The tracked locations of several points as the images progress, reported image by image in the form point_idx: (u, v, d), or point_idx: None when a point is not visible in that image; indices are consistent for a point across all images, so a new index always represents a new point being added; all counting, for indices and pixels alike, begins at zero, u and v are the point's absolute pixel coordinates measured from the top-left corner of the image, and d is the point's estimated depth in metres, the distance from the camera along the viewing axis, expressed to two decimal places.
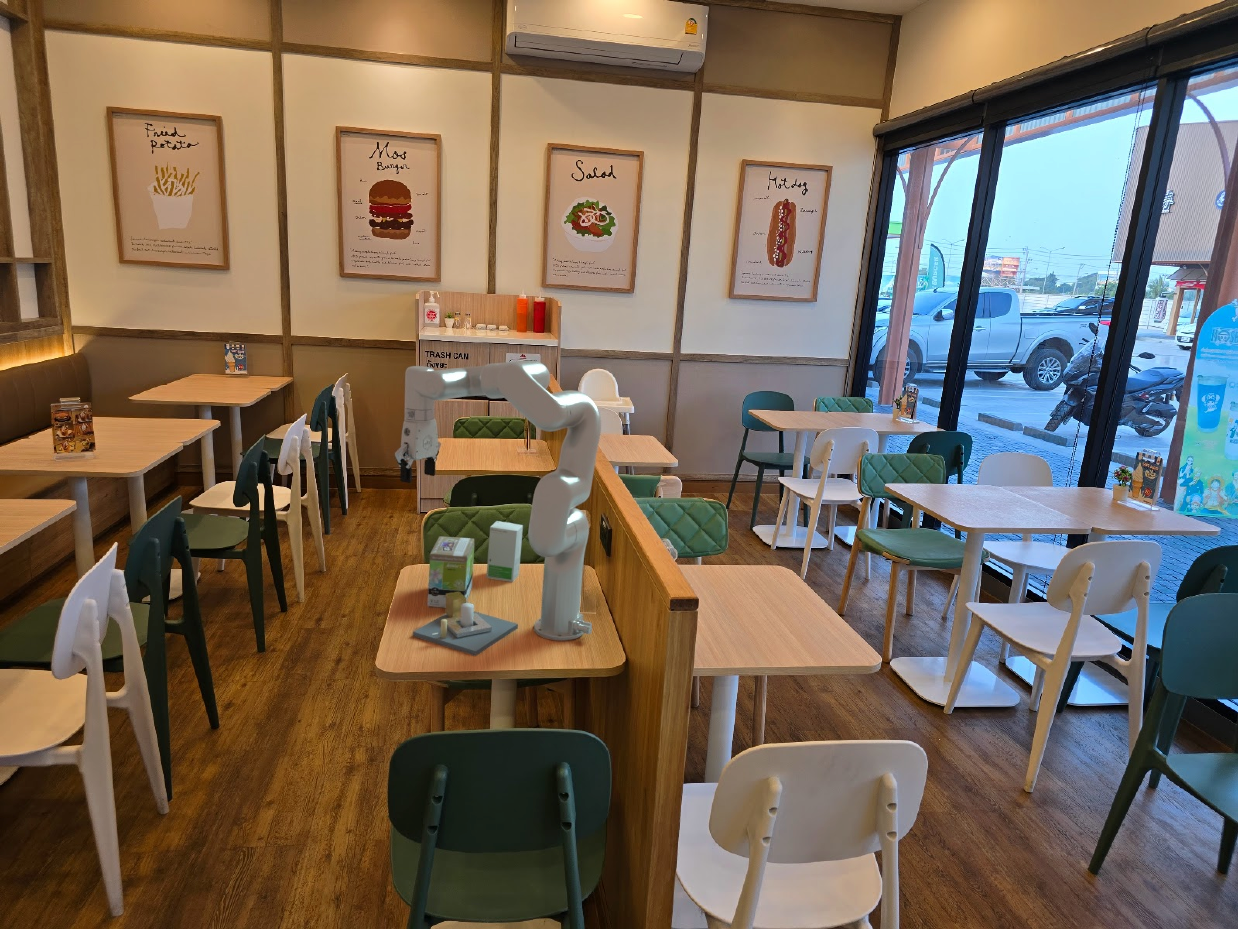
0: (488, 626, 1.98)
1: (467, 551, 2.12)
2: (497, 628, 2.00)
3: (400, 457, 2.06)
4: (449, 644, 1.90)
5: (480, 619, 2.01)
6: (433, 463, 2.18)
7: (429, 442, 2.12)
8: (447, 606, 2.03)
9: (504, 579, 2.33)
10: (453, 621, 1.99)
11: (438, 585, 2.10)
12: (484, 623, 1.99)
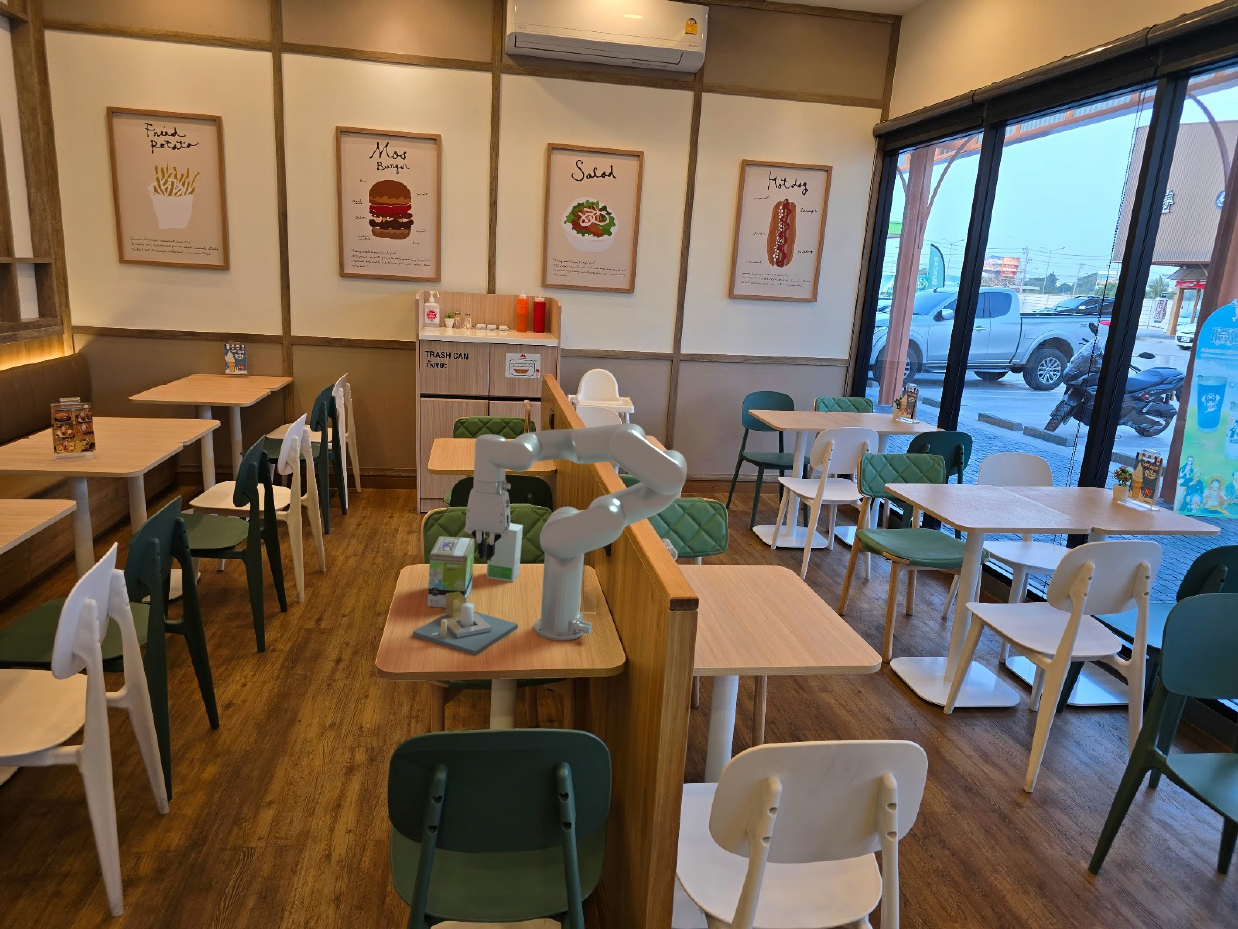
0: (488, 626, 1.98)
1: (467, 551, 2.12)
2: (497, 628, 2.00)
3: None
4: (449, 644, 1.90)
5: (480, 619, 2.01)
6: None
7: None
8: (447, 606, 2.03)
9: (504, 579, 2.33)
10: (453, 621, 1.99)
11: (438, 585, 2.10)
12: (484, 623, 1.99)
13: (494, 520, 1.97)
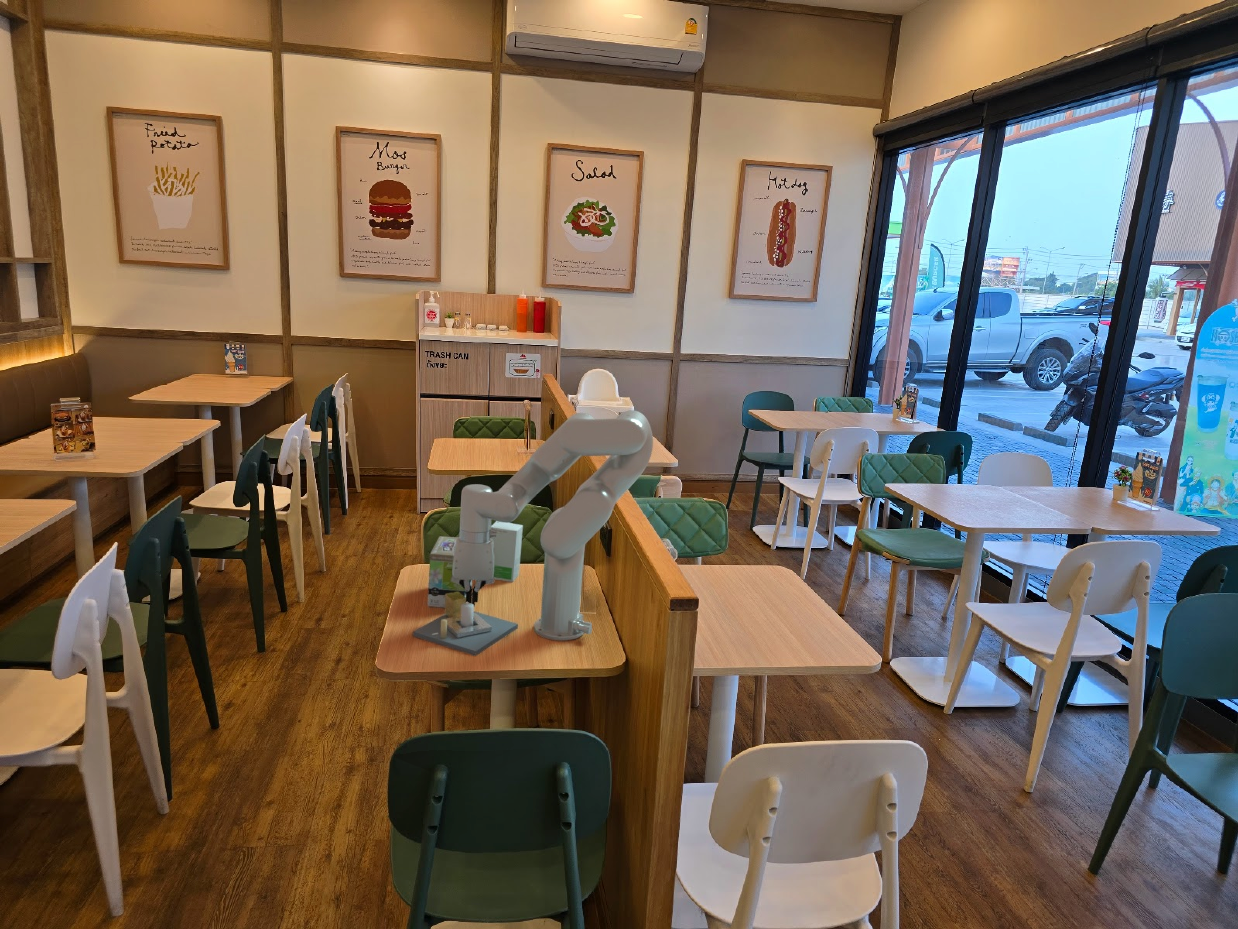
0: (488, 626, 1.98)
1: None
2: (497, 628, 2.00)
3: None
4: (449, 644, 1.90)
5: (480, 619, 2.01)
6: None
7: None
8: (447, 606, 2.03)
9: (504, 579, 2.33)
10: (453, 621, 1.99)
11: (438, 585, 2.10)
12: (484, 623, 1.99)
13: (483, 568, 2.00)
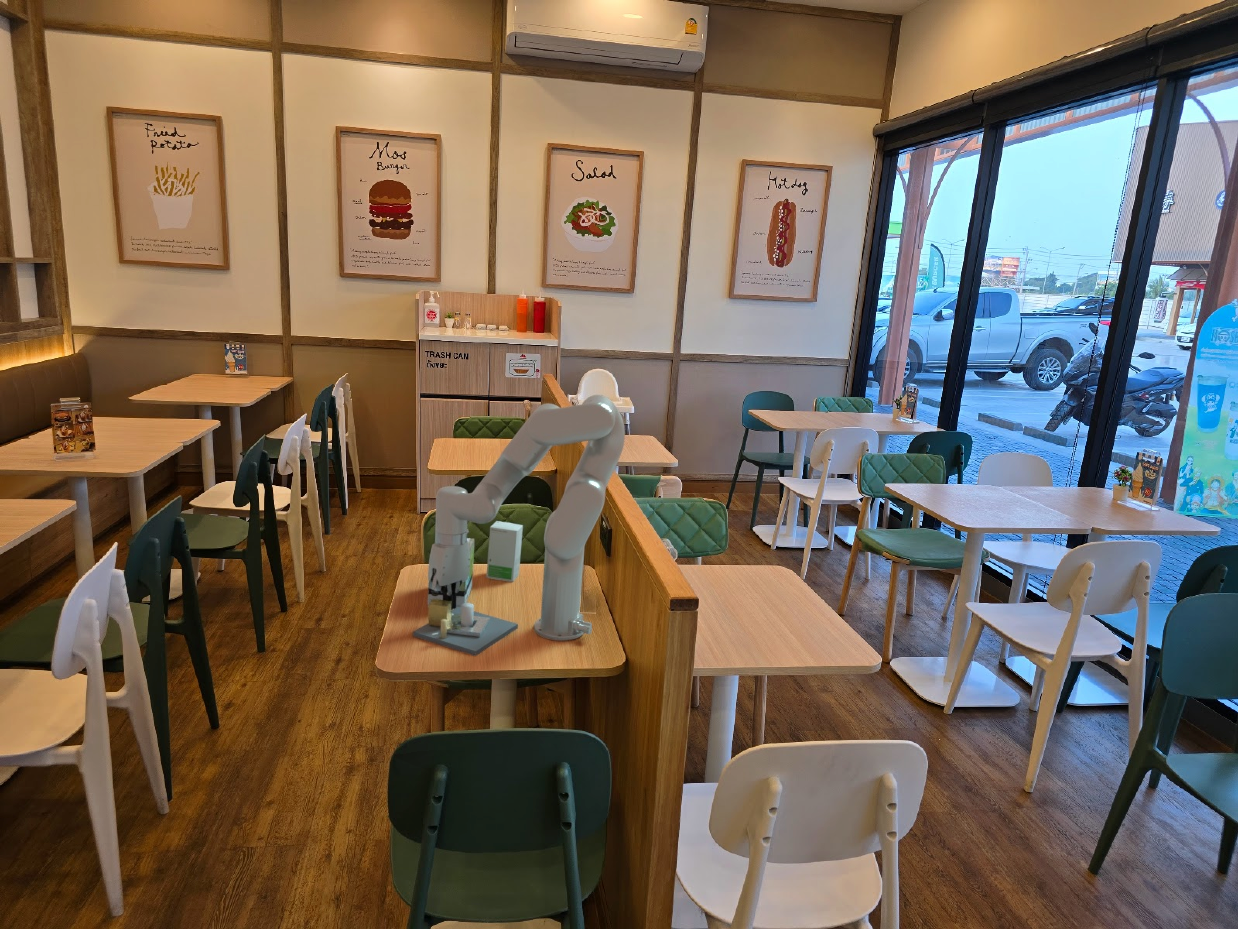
0: (486, 618, 2.02)
1: None
2: (497, 628, 2.00)
3: None
4: (449, 644, 1.90)
5: None
6: None
7: None
8: (434, 616, 1.97)
9: (504, 579, 2.33)
10: (455, 626, 1.96)
11: None
12: (478, 617, 2.02)
13: (464, 567, 2.01)
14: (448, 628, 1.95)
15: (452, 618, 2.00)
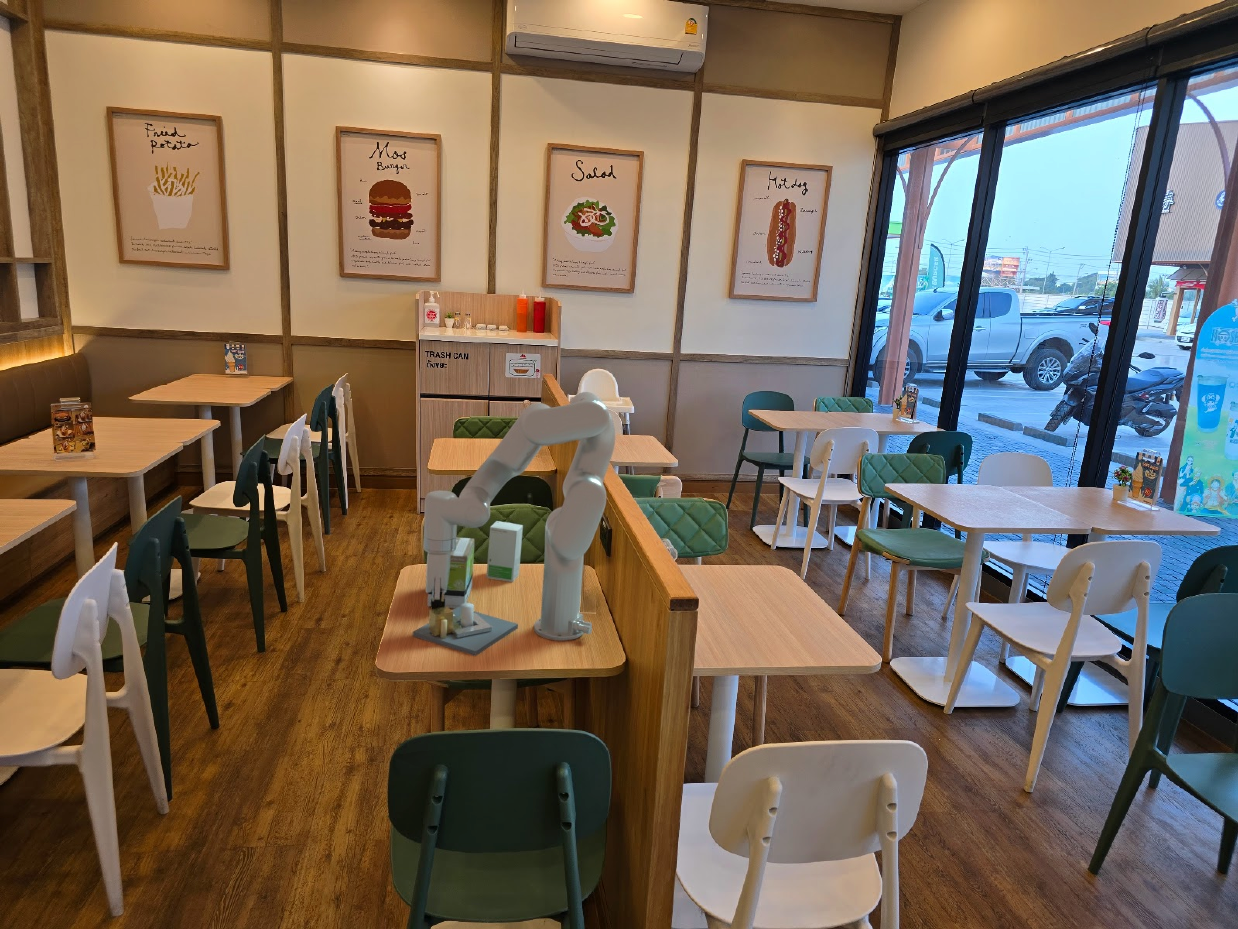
0: (474, 614, 2.04)
1: (467, 551, 2.12)
2: (497, 628, 2.00)
3: None
4: (449, 644, 1.90)
5: (458, 617, 2.01)
6: None
7: None
8: (440, 625, 1.92)
9: (504, 579, 2.33)
10: (463, 628, 1.95)
11: None
12: None
13: None
14: (461, 632, 1.93)
15: None
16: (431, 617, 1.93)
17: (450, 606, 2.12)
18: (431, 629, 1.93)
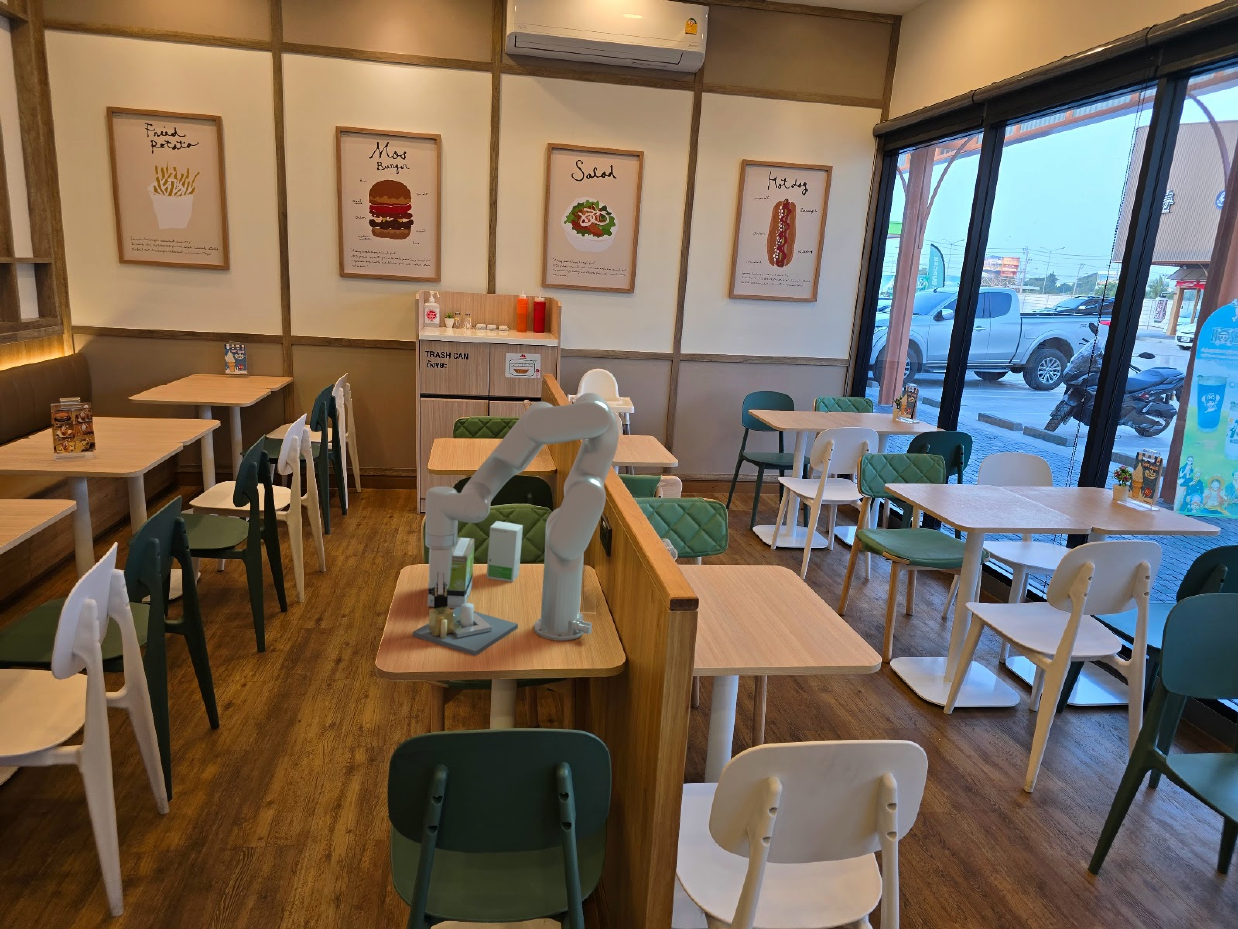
0: (474, 614, 2.04)
1: (467, 551, 2.12)
2: (497, 628, 2.00)
3: None
4: (449, 644, 1.90)
5: (458, 617, 2.01)
6: None
7: None
8: (440, 625, 1.92)
9: (504, 579, 2.33)
10: (463, 628, 1.95)
11: None
12: None
13: None
14: (461, 632, 1.93)
15: None
16: (431, 617, 1.93)
17: (450, 606, 2.12)
18: (431, 629, 1.93)
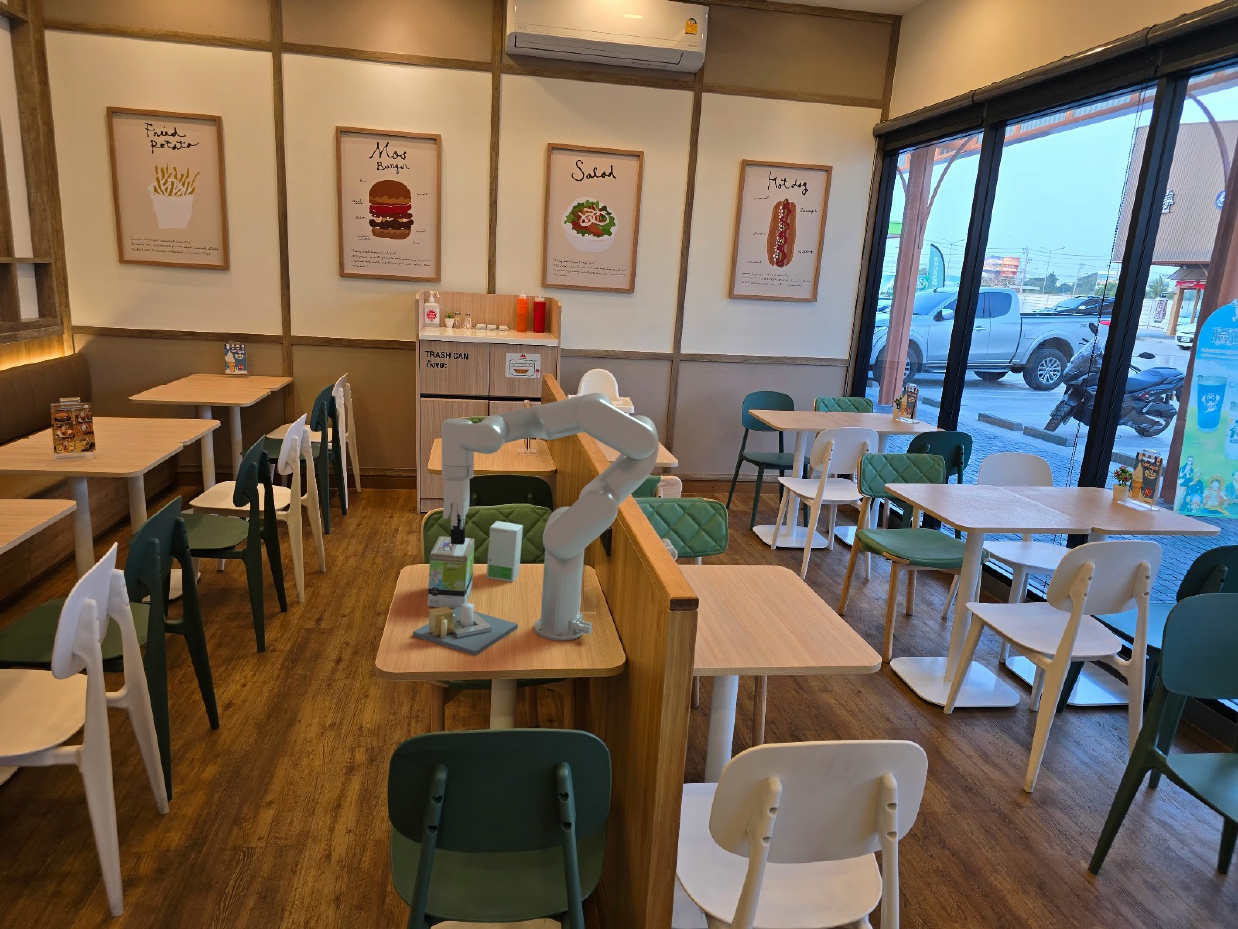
0: (474, 614, 2.04)
1: (467, 551, 2.12)
2: (497, 628, 2.00)
3: None
4: (449, 644, 1.90)
5: (458, 617, 2.01)
6: None
7: None
8: (440, 625, 1.92)
9: (504, 579, 2.33)
10: (463, 628, 1.95)
11: (438, 585, 2.10)
12: None
13: None
14: (461, 632, 1.93)
15: None
16: (431, 617, 1.93)
17: (450, 606, 2.12)
18: (431, 629, 1.93)
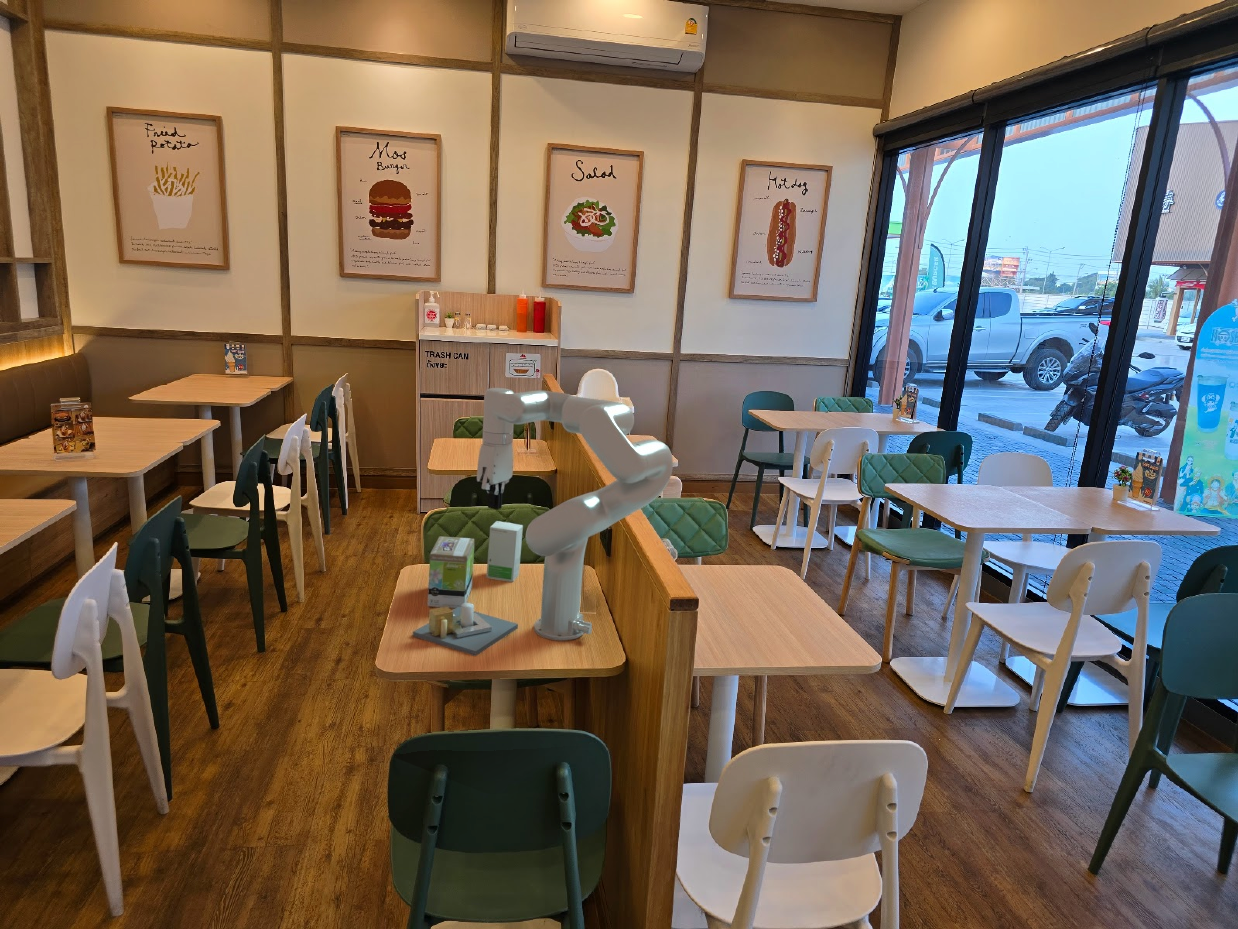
0: (474, 614, 2.04)
1: (467, 551, 2.12)
2: (497, 628, 2.00)
3: None
4: (449, 644, 1.90)
5: (458, 617, 2.01)
6: None
7: None
8: (440, 625, 1.92)
9: (504, 579, 2.33)
10: (463, 628, 1.95)
11: (438, 585, 2.10)
12: None
13: (509, 467, 2.07)
14: (461, 632, 1.93)
15: None
16: (431, 617, 1.93)
17: (450, 606, 2.12)
18: (431, 629, 1.93)
